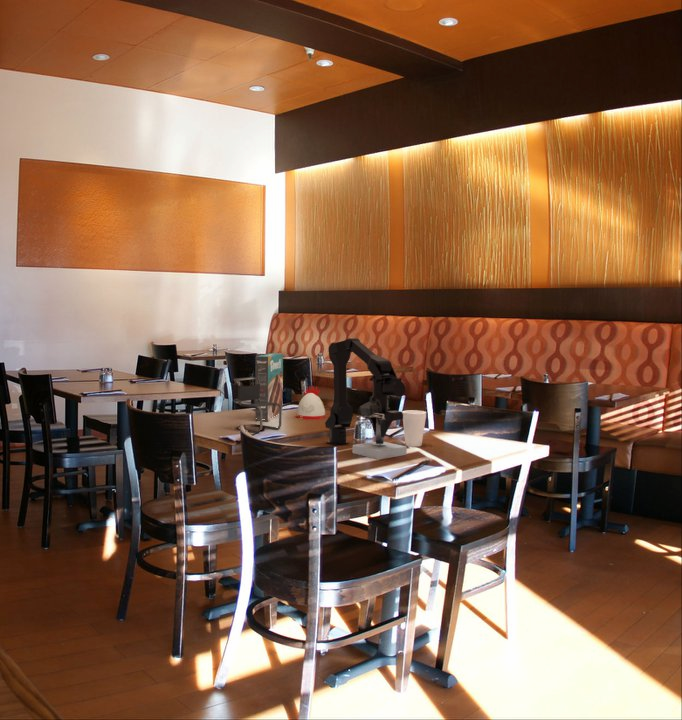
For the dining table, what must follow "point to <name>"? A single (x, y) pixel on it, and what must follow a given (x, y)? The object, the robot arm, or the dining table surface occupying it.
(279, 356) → the cake mix box
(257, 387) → the chair
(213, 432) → the dining table surface
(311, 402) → the kitchen timer
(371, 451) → the socket block
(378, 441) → the pin
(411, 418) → the foam cup
